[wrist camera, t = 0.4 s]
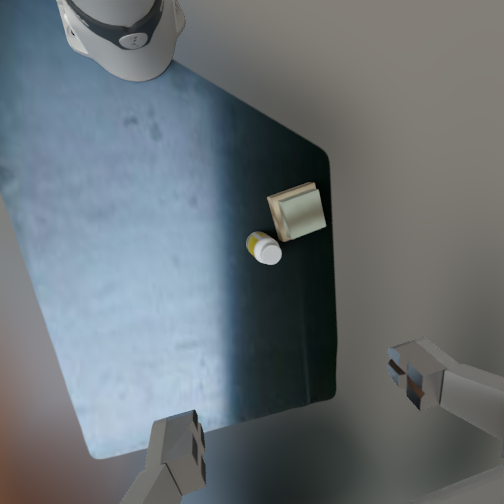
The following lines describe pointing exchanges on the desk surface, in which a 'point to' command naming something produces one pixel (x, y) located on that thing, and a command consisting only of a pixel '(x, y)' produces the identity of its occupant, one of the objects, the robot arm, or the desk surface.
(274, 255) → the supplement bottle
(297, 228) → the two-tone square platform
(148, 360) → the desk surface
